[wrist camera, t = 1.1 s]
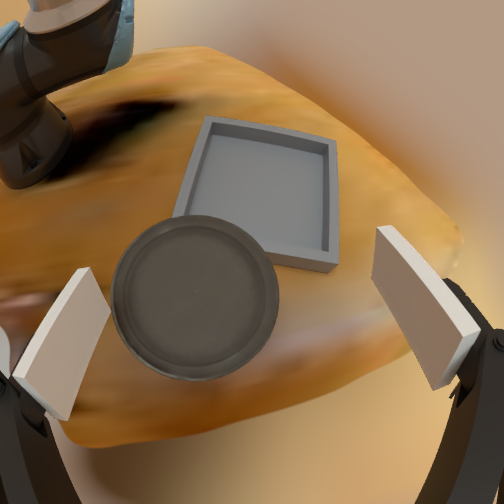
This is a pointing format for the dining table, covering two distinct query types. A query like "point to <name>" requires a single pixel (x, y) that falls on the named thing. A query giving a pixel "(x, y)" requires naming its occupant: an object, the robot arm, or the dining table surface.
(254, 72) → the dining table surface
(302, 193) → the tray
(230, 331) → the coffee can
